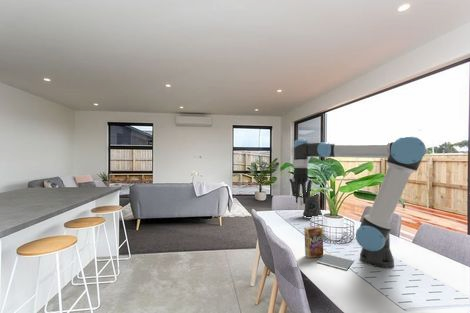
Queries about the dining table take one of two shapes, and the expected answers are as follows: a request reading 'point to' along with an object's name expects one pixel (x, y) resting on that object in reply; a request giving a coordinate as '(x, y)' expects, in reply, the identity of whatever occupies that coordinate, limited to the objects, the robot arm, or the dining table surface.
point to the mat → (335, 261)
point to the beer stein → (312, 206)
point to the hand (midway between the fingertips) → (301, 209)
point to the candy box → (313, 242)
